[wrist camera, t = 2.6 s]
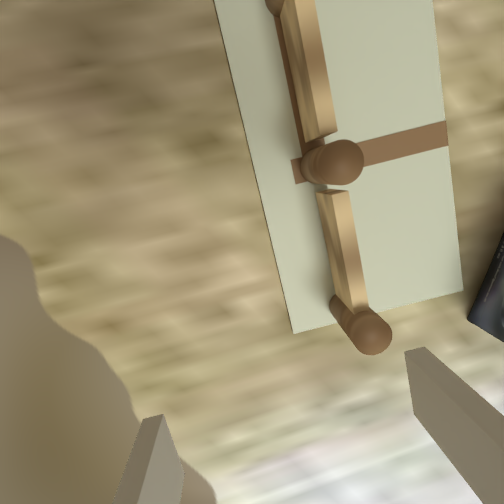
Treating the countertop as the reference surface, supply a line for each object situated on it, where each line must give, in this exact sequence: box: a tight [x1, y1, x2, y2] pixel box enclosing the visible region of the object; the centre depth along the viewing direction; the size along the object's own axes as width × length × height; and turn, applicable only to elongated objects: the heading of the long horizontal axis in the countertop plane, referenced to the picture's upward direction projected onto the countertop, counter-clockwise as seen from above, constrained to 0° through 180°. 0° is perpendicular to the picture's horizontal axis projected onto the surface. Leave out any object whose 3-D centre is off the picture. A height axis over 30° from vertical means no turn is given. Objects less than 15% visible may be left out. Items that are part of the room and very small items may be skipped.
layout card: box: [214, 0, 463, 334], centre depth 27 cm, size 28×16×1 cm, turn 14°
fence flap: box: [315, 189, 392, 355], centre depth 26 cm, size 12×3×6 cm, turn 14°
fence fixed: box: [265, 0, 364, 185], centre depth 23 cm, size 15×3×7 cm, turn 14°
